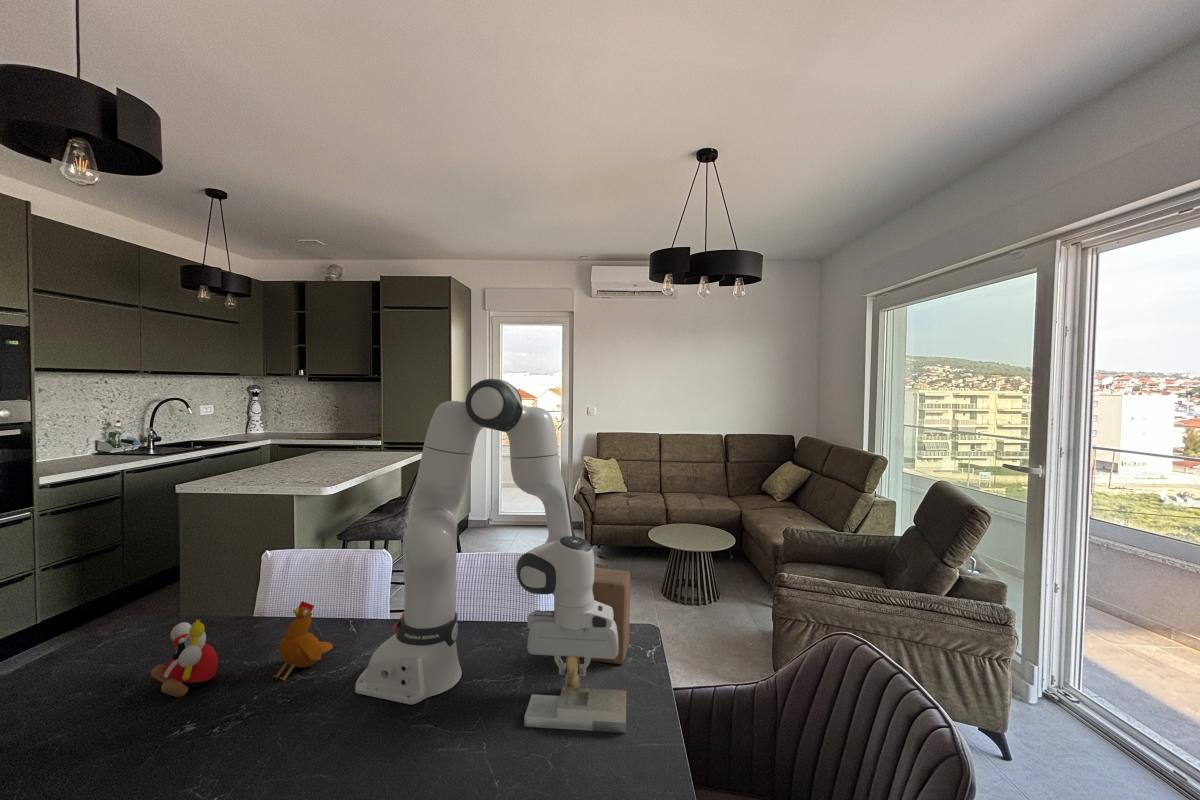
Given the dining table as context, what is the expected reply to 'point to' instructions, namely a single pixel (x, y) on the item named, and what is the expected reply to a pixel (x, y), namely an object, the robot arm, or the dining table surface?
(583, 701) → the stepped socket block
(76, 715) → the dining table surface
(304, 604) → the toy
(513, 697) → the dining table surface
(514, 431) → the robot arm
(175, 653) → the toy
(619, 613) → the wooden block
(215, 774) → the dining table surface
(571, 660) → the pin
